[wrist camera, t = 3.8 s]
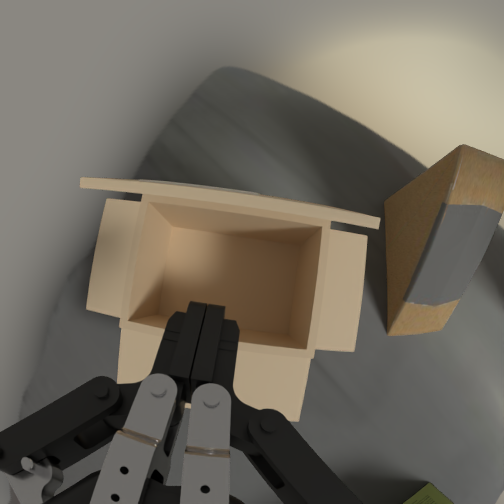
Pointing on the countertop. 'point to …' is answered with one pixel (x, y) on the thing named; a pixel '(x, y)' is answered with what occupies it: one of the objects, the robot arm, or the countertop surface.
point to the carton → (230, 287)
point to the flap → (231, 198)
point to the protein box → (428, 496)
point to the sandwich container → (439, 237)
